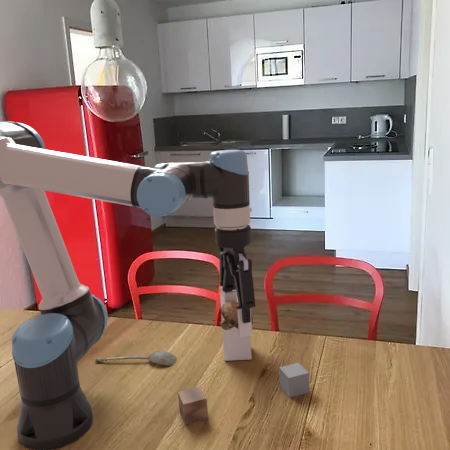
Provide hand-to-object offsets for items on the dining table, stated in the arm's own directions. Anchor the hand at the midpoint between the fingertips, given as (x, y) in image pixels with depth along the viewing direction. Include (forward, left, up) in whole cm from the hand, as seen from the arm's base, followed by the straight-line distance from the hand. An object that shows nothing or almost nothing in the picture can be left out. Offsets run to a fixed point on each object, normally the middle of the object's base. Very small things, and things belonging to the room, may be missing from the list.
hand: (238, 326), depth 106 cm
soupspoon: (-20, +27, -18) cm, 38 cm away
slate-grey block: (+12, -2, -17) cm, 21 cm away
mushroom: (0, 0, -1) cm, 1 cm away
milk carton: (+6, +19, -17) cm, 27 cm away
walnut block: (-12, -2, -17) cm, 21 cm away
